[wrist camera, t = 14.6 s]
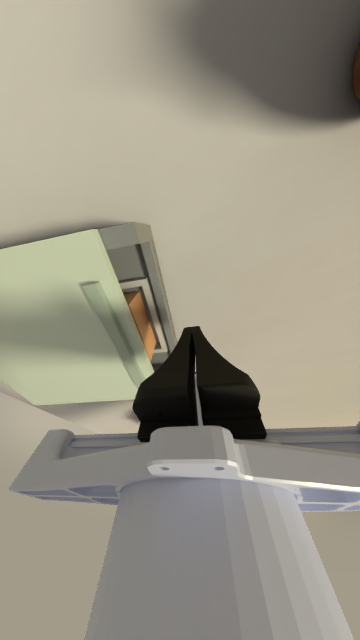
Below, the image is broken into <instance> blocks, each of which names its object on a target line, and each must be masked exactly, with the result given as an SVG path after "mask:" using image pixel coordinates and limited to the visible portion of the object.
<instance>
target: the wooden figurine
mask: <svg viewBox="0 0 360 640" xmlns="http://www.w3.org/2000/svg"><path fill="white" fill-rule="evenodd" d="M353 84H354V90H355V96H356V97H357V99H358V100H359V101H360V44H359V46H358V49H357V51H356V58H355V64H354V71H353Z"/></svg>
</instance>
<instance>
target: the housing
mask: <svg viewBox="0 0 360 640" xmlns="http://www.w3.org/2000/svg"><path fill="white" fill-rule="evenodd" d="M98 232H99V234H100V237H101V239H102V242H103V244H104V247H105V249H106V252H107V254H108V257H109V260H110V262H111V265H112V267H113V270H114V272H115V275H116V277H117V280H118V282H119V285H120V287H121V290H122V292H123V295H124V297H125V300H126V302H127V305H128V307H129V310H130V312H131V315H132V317H133V320H134V322H135V325H136V327H137V330H138V332H139V335H140V337H141V340H142V342H143V345H144V347H145V350H146V352H147V355H148V357H149V360H150V362H151V365H152V367H153V370H154V372H155V371H156V370H157V369H158V368H159V367H160V366H161V365H162V364H163V363H164V362H165V360H166V359H167V358H168V357H169V355H170V354H171V353H172V351H173V350H174V348H175V346H176V345H177V340H176V335H175V331H174V327H173V323H172V318H171V314H170V310H169V305H168V301H167V297H166V293H165V288H164V284H163V280H162V275H161V271H160V267H159V263H158V258H157V254H156V250H155V245H154V241H153V237H152V233H151V228H150V225H147V224H142V223H137V222H130V223H126V224H121V225H117V226H112V227H107V228H103V229H98Z"/></svg>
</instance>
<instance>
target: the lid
mask: <svg viewBox="0 0 360 640" xmlns="http://www.w3.org/2000/svg"><path fill="white" fill-rule="evenodd" d="M153 373H154V370H153V367H152V365H151V362H150V360H149V357H148V355H147V352H146V350H145V347H144V345H143V342H142V340H141V337H140V335H139V332H138V330H137V327H136V325H135V322H134V320H133V317H132V315H131V312H130V310H129V307H128V305H127V302H126V300H125V297H124V295H123V292H122V290H121V287H120V285H119V282H118V280H117V277H116V275H115V272H114V270H113V267H112V265H111V262H110V260H109V257H108V254H107V252H106V249H105V247H104V244H103V242H102V239H101V237H100V234H99V232H98V229H91V230H86V231H82V232H77V233H73V234H68V235H63V236H59V237H54V238H50V239H45V240H41V241H36V242H31V243H27V244H22V245H18V246H13V247H8V248H4V249H0V380H2V381H3V382H4V383H5V384H7V385H8V386H9V387H11V388H12V389H13V390H15V391H16V392H17V393H19V394H20V395H21V396H23V397H24V398H25V399H27V400H28V401H29V402H31V403H32V404H33V405H51V404H67V403H84V402H100V401H117V400H133V399H135V396H136V393H137V391H138V388H139V386H140V384H141V383H142V382H143V381H144V380H145V379H147V378H148V377H149V376H150V375H152V374H153Z"/></svg>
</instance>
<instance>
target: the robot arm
mask: <svg viewBox="0 0 360 640" xmlns="http://www.w3.org/2000/svg"><path fill="white" fill-rule="evenodd" d="M195 356H196V374H195ZM259 402H260V394H259V391H258V389H257V387H256V386H255V384H254V382H253V381H252V379H251V378H250V377H249V375H247V374H246V373H244V372H242V371H241V370H239V369H238V368H236V367H235V366H233V365H232V364H231V363H229V362H228V361H227V360H226V359H224V358H223V357H222V356H221V355H220V354H219V353H218V352H217V351H216V350H215V349H214V348H213V347H212V346H211V344H210V343H209V342H208V341H207V339H206V338H205V336H204V335H203V333H202V331H201V329H200V327H199V326H195V327H187V328H184V330H183V333H182V335H181V337H180V339H179V341H178V343H177V345H176V346H175V348H174V350H173V351H172V353H171V354H170V355H169V357H168V358H167V359H166V360H165V362H164V363H163V364H162V365H161V366H160V367H159V368H158V369H157V370H156V371H155V372H154V373H153V374H152V375H150V376H149V377H148V378H147V379H145V380H144V381H143V382H142V383H141V384H140V386H139V388H138V391H137V393H136V396H135V400H134V403H133V411H134V412H135V414H136V415H137V417H138V419H139V420H140V422H141V423H140V427H139V431H138V433H128V434H97V435H74V433H72V432H71V431H69V430H64V429H60V430H49V431H48V432H47V434H46V435H45V437H44V438H43V440H42V441H41V443H40V444H39V446H38V447H37V448H36V450H35V451H34V453H33V454H32V456H31V457H30V458H29V460H28V461H27V463H26V464H25V466H24V467H23V469H22V470H21V472H20V473H19V474H18V476H17V477H16V479H15V480H14V482H13V483H12V484H11V486H10V487H9V490H10V491H13V492H17V493H20V494H23V495H27V496H30V497H34V498H38V499H41V500H58V501H74V502H87V503H98V504H99V503H100V504H110V505H118V507H117V511H116V515H115V519H114V523H113V527H112V531H111V535H110V539H109V543H108V547H107V551H106V555H105V559H104V563H103V567H102V571H101V575H100V579H99V583H98V587H97V591H96V595H95V599H94V603H93V607H92V611H91V615H90V619H89V623H88V627H87V631H86V635H85V639H84V640H354V639H353V636H352V634H351V632H350V629H349V627H348V624H347V622H346V619H345V617H344V615H343V612H342V610H341V607H340V605H339V602H338V600H337V598H336V595H335V593H334V590H333V588H332V586H331V583H330V581H329V578H328V576H327V573H326V571H325V569H324V566H323V564H322V561H321V559H320V557H319V554H318V552H317V549H316V547H315V544H314V542H313V539H312V537H311V535H310V532H309V530H308V528H307V525H306V523H305V520H304V518H303V515H302V513H301V512H313V511H314V512H318V511H360V421H359V422H358V424H357V426H348V427H316V428H285V429H265V428H264V425H263V423H262V420H261V418H260V417H261V414H260V411H259V409H258V406H259Z"/></svg>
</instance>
